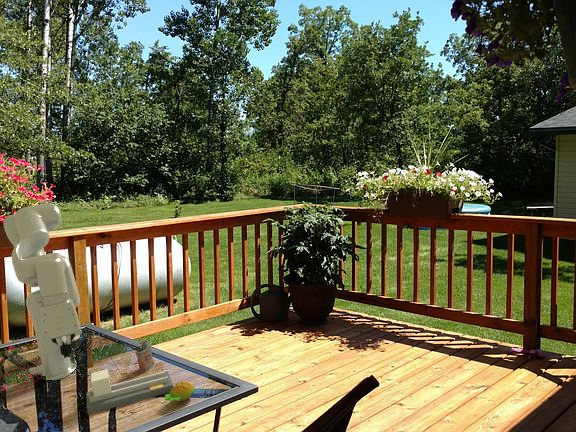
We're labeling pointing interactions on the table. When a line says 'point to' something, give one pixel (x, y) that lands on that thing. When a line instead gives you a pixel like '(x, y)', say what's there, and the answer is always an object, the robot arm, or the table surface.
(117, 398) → the fader board
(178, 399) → the toy pineapple
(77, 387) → the table surface
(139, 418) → the table surface
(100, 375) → the fader knob
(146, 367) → the lighter
